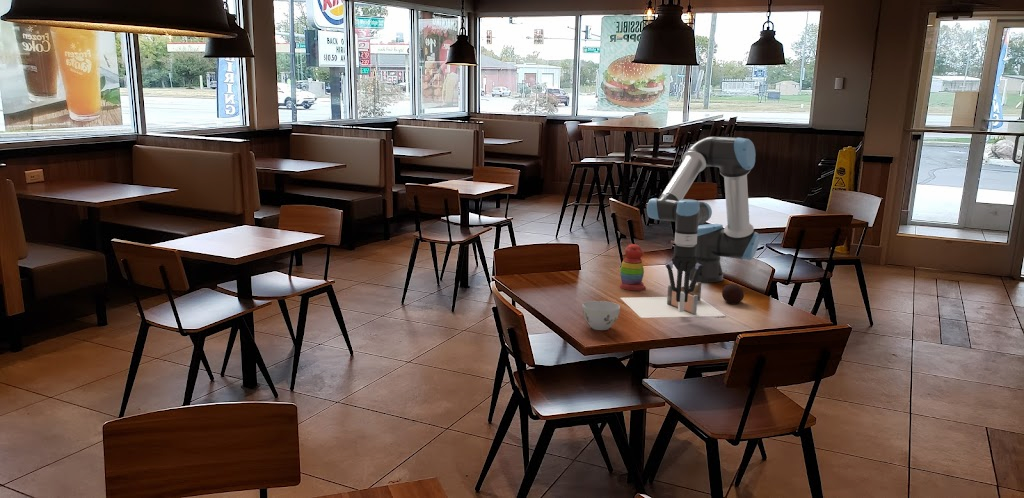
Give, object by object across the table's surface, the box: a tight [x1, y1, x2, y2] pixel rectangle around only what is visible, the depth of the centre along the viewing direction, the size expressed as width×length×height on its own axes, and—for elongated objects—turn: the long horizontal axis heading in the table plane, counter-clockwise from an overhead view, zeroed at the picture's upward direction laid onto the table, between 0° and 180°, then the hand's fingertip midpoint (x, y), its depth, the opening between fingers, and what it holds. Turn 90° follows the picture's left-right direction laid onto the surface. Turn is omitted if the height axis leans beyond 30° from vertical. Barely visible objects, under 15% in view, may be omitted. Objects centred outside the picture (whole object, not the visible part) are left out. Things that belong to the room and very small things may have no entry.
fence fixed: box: [666, 281, 703, 305], centre depth 284 cm, size 16×2×7 cm, turn 118°
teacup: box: [581, 300, 621, 331], centre depth 254 cm, size 15×12×8 cm
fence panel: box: [671, 290, 698, 314], centre depth 274 cm, size 13×1×7 cm, turn 27°
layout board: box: [620, 296, 727, 319], centre depth 279 cm, size 31×26×1 cm
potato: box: [721, 283, 745, 305], centre depth 286 cm, size 8×9×8 cm
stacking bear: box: [619, 242, 647, 292], centre depth 305 cm, size 11×10×18 cm
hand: (680, 310), depth 267 cm, fingers closed
